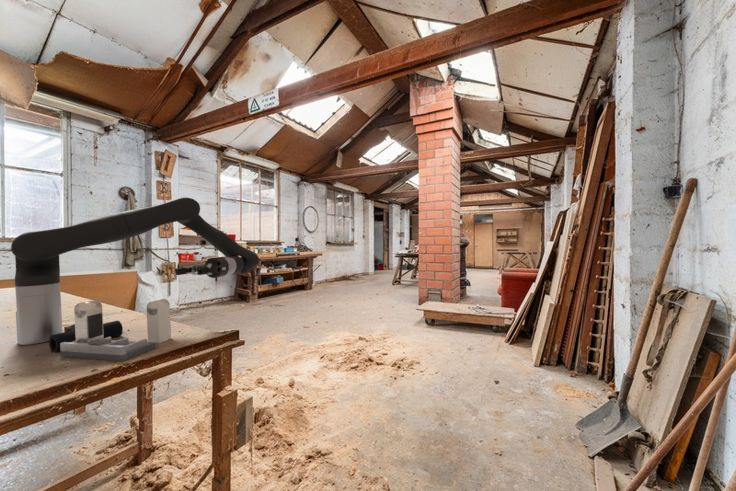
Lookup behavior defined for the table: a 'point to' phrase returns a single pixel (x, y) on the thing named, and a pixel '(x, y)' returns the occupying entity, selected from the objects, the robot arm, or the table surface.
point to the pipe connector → (69, 335)
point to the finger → (158, 321)
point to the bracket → (99, 338)
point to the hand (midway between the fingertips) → (187, 272)
